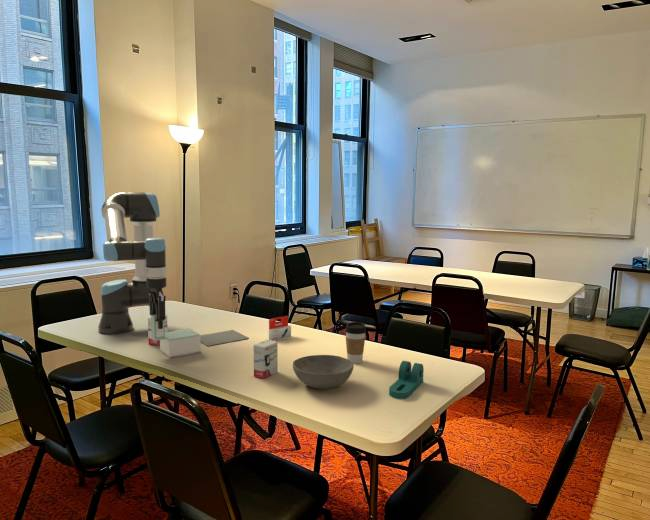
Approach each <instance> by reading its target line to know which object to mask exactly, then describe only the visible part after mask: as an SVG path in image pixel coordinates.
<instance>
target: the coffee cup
mask: <svg viewBox="0 0 650 520" xmlns="http://www.w3.org/2000/svg"><path fill="white" fill-rule="evenodd" d="M344 329H345V330H344V332H345V345H346V359H348V360H350V361H351V362H352V363H353V365H356V364H357V365H358V364H361V363H363V358H364V349H365V344H366V343H365V340H366V332H367V329H366V325H365V323H363V322H359V321H353V322H349V323H347V324H346V327H345V328H344Z"/></svg>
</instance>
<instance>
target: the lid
mask: <svg viewBox="0 0 650 520" xmlns="http://www.w3.org/2000/svg"><path fill="white" fill-rule="evenodd" d="M150 317H151V338H152V339H153V340H154V341H157V340H163V339H167V340H169V341H172V340H178V339H184V338H190V337H196V336H200V335H201V334H200V333H198V332H196V331H194V330H193V329H191V328H185V329H179V330H173V331H168V332H165V327H164V320H163V327H164V336H161V337H156V322H155V320H157V317H156V314H155V315H150Z"/></svg>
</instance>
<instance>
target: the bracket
mask: <svg viewBox="0 0 650 520" xmlns="http://www.w3.org/2000/svg"><path fill="white" fill-rule="evenodd" d="M424 370H425V369H424V364H422V363H418V362H414V364H413V365H412V362H411V361H408V360H402V361H401V363H400V365H399V368H398V378H397V380H396V381H395V382H394V383H392V384H391V385H390V386H389V387H388V390H389V391H388V395H389V397H391V398H393V399H396V400H403V399H404V400H405V399H407V398H410V396H411V395H412V394H413V393H414V392H415V391H416V390H417V389H418V388H420V386H421V385H422V384H423V383H424V373H425V371H424Z"/></svg>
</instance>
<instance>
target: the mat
mask: <svg viewBox="0 0 650 520" xmlns="http://www.w3.org/2000/svg"><path fill="white" fill-rule="evenodd" d="M249 339H250V337H249V336H247V335H244V334H243V333H240V332H238V331H236V330H234V329H231V330H224V331H217V332H212V333H207V334H200V341H201V344H202V345H205V346H206V347H211V346H212V347H214V346H219V345H224V344H228V343H234V342H238V341H239V342H240V341H244V340H249Z"/></svg>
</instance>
